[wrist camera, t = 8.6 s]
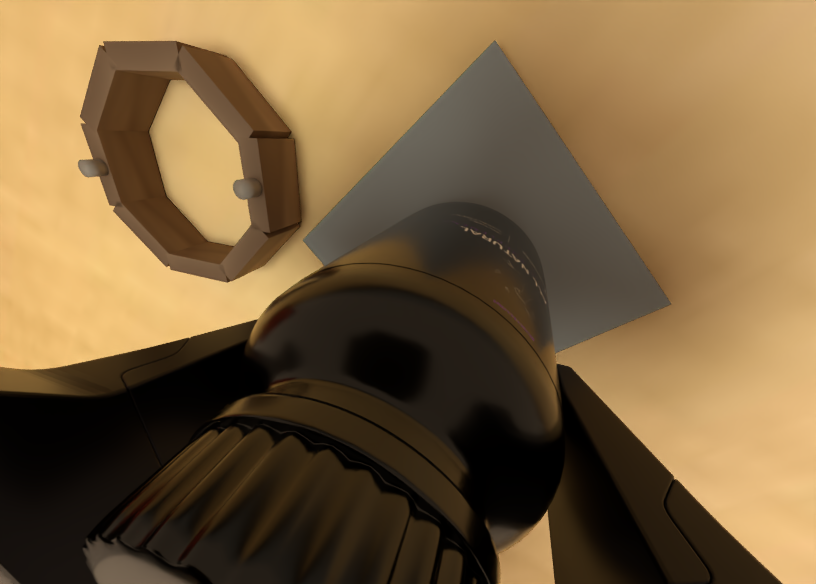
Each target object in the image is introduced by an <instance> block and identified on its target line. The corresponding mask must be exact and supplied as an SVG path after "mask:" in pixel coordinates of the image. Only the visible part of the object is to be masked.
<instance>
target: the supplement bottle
mask: <svg viewBox="0 0 816 584" xmlns="http://www.w3.org/2000/svg"><path fill="white" fill-rule="evenodd" d="M238 396H239V398H238V399H236V400H234V401H232V402H230V403H228V404H227V405H226V406H224V407H223V408H222V409H220V410H219V411H218V412H217V413H216V414H215V415H213V416H212V417H211V418H210V419H209V420H208V421H206V422H205V423H204V424H203V425H202V426H201V427H200V428H198V429H197V430H196V431H195V433H194V434H193V435H192V437H191V438H190V440H189V442H188V444H187V445H186V446H185V447H184V448H182V449H181V450H180V451H179V452H178V453H176V454H175V455H174V456H173V457H172V458H171V459H170V460H168V461H167V462H166V463H165V464H164V465H163V466H162V467H160V468H159V469H158V470H157V471H156V472H155V473H154V474H152V475H151V476H150V477H149V478H148V479H147V480H146V481H144V482H143V483H142V484H141V485H140V486H139V487H138V488H137V489H135V490H134V491H133V492H132V493H131V494H130V495H129V496H127V497H126V498H125V499H124V500H123V501H122V502H121V503H120V504H118V505H117V506H116V507H115V508H114V509H113V510H112V511H111V512H109V513H108V514H107V515H106V516H105V517H104V518H103V519H102V520H101V521H100V522H99V523H98V524H97V525H96V526H95V528H94V529H93V530H92V531H91V532H90V533H89V534H88V536H87V537H86V538H85V540H86V543H85V544H84V545H83V547H82V550H83V552H84V555H85V557H86V560H85V563H86V564H87V566H88V568H89V569H90V571H91V573H92V574H93V578H94V579H95V581H96V582H97V584H500V562H499V557H498V554H499V553H501V552H503V551H505V550H507V549H509V548H510V547H512V546H514V545H515V544H516V543H518V542H519V541H520V540H522V539H523V538H524V537H525V536H526V535H528V534H529V532H530V531H531V530H532V529H533V528H534V527H535V526H536V525H537V524H538V522H539V521H540V520H541V519H542V517H543V516H544V514H545V513H546V511H547V509H548V508H549V506H550V504H551V503H552V501H553V499H554V497H555V494H556V492H557V489H558V487H559V484H560V482H561V477H562V473H563V468H564V463H565V428H564V416H563V407H562V400H561V392H560V385H559V377H558V370H557V363H556V356H555V348H554V341H553V334H552V326H551V319H550V312H549V305H548V297H547V290H546V283H545V278H544V273H543V268H542V264H541V261H540V258H539V255H538V253H537V251H536V249H535V247H534V245H533V244H532V242H531V240H530V239H529V238H528V236H527V235H526V234H525V232H524V231H523V230H522V229H521V228H520V227H519V226H518V225H517V224H516V223H514V222H513V221H512V220H511V219H509V218H508V217H506V216H505V215H503V214H501V213H500V212H498V211H496V210H494V209H491V208H489V207H486V206H483V205H480V204H475V203H469V202H445V203H440V204H435V205H432V206H429V207H426V208H424V209H421V210H419V211H417V212H415V213H414V214H411V215H410V216H408V217H406V218H404V219H403V220H401V221H399V222H398V223H396V224H394V225H393V226H391V227H389V228H388V229H386V230H384V231H383V232H381V233H379V234H377V235H376V236H374V237H372V238H371V239H369V240H367V241H366V242H364V243H362V244H361V245H359V246H357V247H356V248H354V249H352V250H351V251H349V252H347V253H345V254H344V255H342V256H340V257H339V258H337V259H335V260H334V261H332V262H330V263H329V264H327V265H325V266H324V267H322V268H320V269H319V270H317V271H315V272H314V273H312V274H310V275H309V276H307V277H305V278H304V279H302V280H300V281H299V282H298V283H296V284H295V285H293V286H292V287H291V288H289V289H288V290H286V291H285V292H284V293H282V294H281V295H280V296H279V297H277V298H276V299H275V300H274V301H273V302H272V303H271V304H270V305H269V306H268V307H267V308H266V310H265V311H264V312H263V314H262V315H261V316H260V318H259V319H258V321H257V322H256V324H255V326H254V328H253V330H252V331H251V333H250V336H249V338H248V340H247V343H246V346H245V349H244V351H243V354H242V359H241V364H240V368H239V378H238Z"/></svg>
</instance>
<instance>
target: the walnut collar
mask: <svg viewBox="0 0 816 584" xmlns="http://www.w3.org/2000/svg"><path fill="white" fill-rule="evenodd" d="M103 43H104V46H101V45H99V48H98V52H97V55H96V59H95V63H94V67H93V70H92V74H91V78H90V81H89V85H88V89H87V92H86V96H85V100H84V103H83V107H82V111H81V115H80V117H81V118H82V120H83V121H84V122H85V123H86V124H82V123H81V126H82V129H83V132H84V134H85V137H86V140H87V143H88V146H89V149H90V151H91V154H92V157H93V159H91V160H79V161H78V167H79V169H80V171H81V173H82V174H83V175H84V176H86V177H96V176H99V177H100V180H101V182H102V185H103V188H104V191H105V194H106V196H107V199H108V202H109V205H111V206H115V208H114V210H113V211H114V212H115V213H116V215H117V216H118V217H119V218H120V219H121V220H122V221H123V222H124V223H125V224H126V225H127V226H128V227H129V228H130V229H131V230H132V231H133V232H134V233H135V235H136V236H137V237H138V238H139V239H140V240H141V241H142V242H143V243H144V244H145V245H146V246H147V247H148V248H149V249H150V250H151V251H152V252H153V253H154V255H155V256H156V257H157V258H158V259H159V260H160V261H161V262H162V263H163V264H164V265H165V266H166V267H167V266H170V269H171V270H174V271H178V272H183V273H187V274H192V275H196V276H201V277H205V278H209V279H214V280H218V281H223V282H229V281H233V280H235V279H237V278H240V277H242V276H244V275H246V274H248V273H250V272H252V271H254V270H256V269H258V268H260V267H262V266H264V265H265V264H266V263H267V262H268V260H269V259H270V258H271V257H272V256H273V255H274V254H275V253H276V252H277V251H278V250H279V249H280V247H281V246H282V245H283V244H284V243H285V242H286V241H287V240H288V239H289V238H290V237H291V235H292V234H293V233H294V232H295V231H296V230H297V229H298V228H299V227H300V226H299V225H298V222H301V211H300V200H299V189H298V177H297V166H296V155H295V144H294V139H289V138H287V137H288V136H289V134H290V133H291V131H290V130H289V128H288V127H287V126H286V125H285V124H284V122H283V121H282V120H281V119H280V117H279V116H278V115H277V114H276V112H275V111H274V110H273V109H272V108H271V106H270V105H269V104H268V103H267V101H266V100H265V99H264V98H263V96H262V95H261V94H260V93H259V92H258V90H257V89H256V88H255V87H254V85H253V84H252V83H251V82H250V80H249V79H248V78H247V77H246V76H245V74H244V73H243V72H242V71H241V69H240V68H239V67H238V66H237V64H236V63H235V62H234V61H233V60H232V59H230V58H227V56H225V55H222V54H218V53H215V52H212V51H208V50H205V49H201V48H198V47H194V46H191V45H187V44H184V43H180V42H177V41H103ZM170 80H185V81H186V82H187V83H188V84H189V85H190V87H191V88H192V89H193V90H194V91H195V93H196V94H197V95H198V96H199V97H200V98H201V100H202V101H203V102H204V103H205V104H206V106H207V107H208V108H209V109H210V110H211V111H212V113H213V114H214V115H215V116H216V117H217V119H218V120H219V121H220V122H221V123H222V124H223V126H224V127H225V128H226V129H227V130H228V132H229V133H230V134H231V135H232V136H233V137H234V139H235V140H236V141H237V142H238V144H239V150H240V157H241V163H242V169H243V175H244V179H241V180H236V181H235V182H234V184H233V190H234V193H235V194H236V196H237V197H238V198H240V199H242V200H244V199H247V200H248V206H249V213H250V219H251V226H250V227H249V229H248V230H247V231H246V232H245V234H244V235H243V236H242V237H241V239H240V240H239V241H238V243H237V244H236V245H235V246H234V247H233V246H227V245H222V244H217V243H212V242H207V241H206V240H205V239H204V238H203V236H202V235H201V234H200V233H199V232H198V231H197V230H196V229H195V228H194V227H193V225H192V224H191V223H190V222H189V221H188V220H187V219H186V218H185V217H184V216H183V214H182V213H181V212H180V211H179V210H178V209H177V208H176V207H175V206H174V205H173V204H172V202H171V201H170V200H169V199H168V198H167V197H166V195H165V192H164V188H163V184H162V181H161V177H160V173H159V170H158V166H157V162H156V159H155V155H154V151H153V148H152V144H151V140H150V137H149V133H148V131H149V128H150V126H151V123H152V121H153V119H154V116H155V114H156V112H157V109H158V107H159V104H160V102H161V100H162V97H163V95H164V93H165V90H166V88H167V85H168V83H169V81H170Z"/></svg>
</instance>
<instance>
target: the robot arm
mask: <svg viewBox="0 0 816 584" xmlns="http://www.w3.org/2000/svg"><path fill="white" fill-rule="evenodd" d="M257 321H258V319H257V320H254V321H250V322H246V323H242V324H238V325H235V326H231V327H227V328H223V329H219V330H216V331H212V332H208V333H204V334H200V335H197V336H193V337H191V338H185V339H181V340H177V341H174V342H170V343H166V344H162V345H158V346H154V347H150V348H145V349H141V350H136V351H132V352H128V353H123V354H119V355H114V356H109V357H105V358H100V359H96V360H91V361H86V362H82V363H77V364H73V365H68V366H63V367H57V368H50V369H37V370H24V369H12V368H4V367H0V584H97V582H96V581H95V579H94V578H93V574H92V573H91V571H90V569H89V568H88V566H87V564H86V563H85V560H86V557H85V555H84V552H83V550H82V547H83V545H84V544H85V543H86V540H85V538H86V537H87V536H88V534H89V533H90V532H91V531H92V530H93V529H94V528H95V526H96V525H97V524H98V523H99V522H100V521H101V520H102V519H103V518H104V517H105V516H106V515H107V514H108V513H109V512H111V511H112V510H113V509H114V508H115V507H116V506H117V505H118V504H120V503H121V502H122V501H123V500H124V499H125V498H126V497H127V496H129V495H130V494H131V493H132V492H133V491H134V490H135V489H137V488H138V487H139V486H140V485H141V484H142V483H143V482H144V481H146V480H147V479H148V478H149V477H150V476H151V475H152V474H154V473H155V472H156V471H157V470H158V469H159V468H160V467H162V466H163V465H164V464H165V463H166V462H167V461H168V460H170V459H171V458H172V457H173V456H174V455H175V454H176V453H178V452H179V451H180V450H181V449H182V448H184V447H185V446H186V445H187V444H188V442H189V440H190V438H191V437H192V435H193V434H194V433H195V431H196V430H197V429H198V428H200V427H201V426H202V425H203V424H204V423H205V422H206V421H208V420H209V419H210V418H211V417H212V416H213V415H215V414H216V413H217V412H218V411H219V410H220V409H222V408H223V407H224V406H226V405H227V404H228V403H230V402H232V401H234V400H236V399H238V398H239V396H238V378H239V368H240V364H241V359H242V354H243V351H244V349H245V346H246V343H247V340H248V338H249V336H250V333H251V331H252V330H253V328H254V326H255V324H256V322H257ZM557 370H558V377H559V385H560V392H561V400H562V407H563V416H564V428H565V463H564V468H563V473H562V477H561V482H560V484H559V487H558V489H557V492H556V494H555V497H554V499H553V501H552V503H551V504H550V506H549V508H548V519H549V529H550V539H551V549H552V559H553V569H554V579H555V584H782V583H781V582H780V581H779V580H778V579H777V578H776V577H775V576H774V575H773V574H772V573H771V572H770V571H769V570H768V569H766V568H765V567H764V566H763V565H762V564H761V563H760V562H759V561H758V560H757V559H756V558H755V557H754V556H753V555H752V554H751V553H750V552H749V551H748V550H747V549H746V548H744V547H743V546H742V545H741V544H740V543H739V542H738V541H737V540H736V539H735V538H734V537H733V536H732V535H731V534H730V533H729V532H728V531H727V530H726V529H725V528H724V527H723V526H722V525H721V524H720V523H719V522H718V521H717V520H716V519H715V518H714V517H713V516H712V515H711V514H710V513H709V512H708V511H707V510H706V509H705V508H704V507H703V506H702V505H701V504H700V503H699V502H698V501H697V500H696V499H695V498H694V497H693V496H692V495H691V494H690V493H689V491H688V490H687V489H686V488H685V487H684V486H683V485H682V484H681V483H680V482H679V481H678V480H676V479H674V476H673V475H672V474H671V473H670V472H669V471H668V470H667V468H666V467H665V466H664V465H663V464H662V463H661V462H660V461H659V460H658V459H657V458H656V457H655V456H654V455H653V454H652V453H651V452H650V451H649V449H648V448H647V447H646V446H645V445H644V444H643V443H642V442H641V441H640V440H639V439H638V438H637V437H636V436H635V435H634V434H633V433H632V432H631V430H630V429H629V428H628V427H627V426H626V425H625V424H624V423H623V422H622V421H621V420H620V419H619V418H618V417H617V416H616V415H615V414H614V413H613V412H612V410H611V409H610V408H609V407H608V406H607V405H606V404H605V403H604V402H603V401H602V400H601V399H600V398H599V397H598V396H597V395H596V394H595V393H594V391H593V390H592V389H591V388H590V387H589V386H588V385H587V384H586V383H585V382H584V381H583V380H582V379H581V378H580V377H579V376H578V375H577V374H576V372H575V371H574V370H573V369H572V368H571V367H569V366H564V365H560V364H557Z"/></svg>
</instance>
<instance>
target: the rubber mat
mask: <svg viewBox="0 0 816 584" xmlns="http://www.w3.org/2000/svg"><path fill="white" fill-rule="evenodd" d="M445 202H469V203H475V204H480V205H483V206H486V207H489V208H491V209H494V210H496V211H498V212H500V213H501V214H503V215H505V216H506V217H508V218H509V219H511V220H512V221H513V222H514V223H516V224H517V225H518V226H519V227H520V228H521V229H522V230H523V231H524V232H525V234H526V235H527V236H528V238H529V239H530V240H531V242H532V244H533V245H534V247H535V249H536V251H537V253H538V255H539V258H540V261H541V264H542V268H543V273H544V278H545V283H546V290H547V297H548V305H549V312H550V319H551V326H552V334H553V341H554V348H555V353H557V352H559V351H562V350H564V349H566V348H569V347H571V346H574V345H576V344H578V343H581V342H583V341H585V340H588V339H590V338H592V337H595V336H597V335H600V334H602V333H604V332H607V331H609V330H611V329H614V328H616V327H618V326H621V325H623V324H625V323H628V322H630V321H633V320H635V319H637V318H640V317H642V316H644V315H647V314H649V313H651V312H654V311H656V310H659V309H661V308H663V307H666V306H668V305H670V304H671V303H670V301H669V300H668V298H667V297H666V295H665V294H664V292H663V291H662V289H661V288H660V286H659V285H658V283H657V282H656V280H655V279H654V277H653V276H652V274H651V273H650V271H649V270H648V268H647V267H646V265H645V264H644V262H643V261H642V259H641V258H640V256H639V255H638V253H637V252H636V250H635V249H634V247H633V246H632V244H631V243H630V241H629V240H628V238H627V237H626V235H625V234H624V232H623V231H622V229H621V228H620V226H619V225H618V223H617V222H616V220H615V219H614V217H613V216H612V214H611V213H610V211H609V210H608V208H607V207H606V205H605V204H604V202H603V201H602V199H601V198H600V196H599V195H598V193H597V192H596V190H595V189H594V187H593V186H592V184H591V183H590V181H589V180H588V178H587V177H586V175H585V174H584V172H583V171H582V169H581V168H580V166H579V165H578V163H577V162H576V160H575V159H574V157H573V156H572V154H571V153H570V151H569V150H568V148H567V147H566V145H565V144H564V142H563V141H562V139H561V138H560V136H559V135H558V134H557V132H556V131H555V129H554V128H553V126H552V125H551V123H550V122H549V120H548V119H547V117H546V116H545V114H544V113H543V111H542V110H541V108H540V107H539V105H538V104H537V102H536V101H535V99H534V98H533V96H532V95H531V93H530V92H529V90H528V89H527V87H526V86H525V84H524V83H523V81H522V80H521V78H520V77H519V75H518V74H517V72H516V71H515V69H514V68H513V66H512V65H511V63H510V62H509V60H508V59H507V57H506V56H505V54H504V53H503V51H502V50H501V48H500V47H499V45H498V44H497V42H496V41H494V42H493V43H492V44H491V45H490V46H489V47H488V48H487V49H486V50H485V51H484V52H483V53H482V54H481V55H480V56H479V57H478V58H477V59H476V60H475V61H474V62H473V63H472V64H471V66H470V67H469V68H468V69H467V70H466V71H465V72H464V73H463V74H462V75H461V76H460V77H459V78H458V79H457V80H456V81H455V82H454V83H453V84H452V85H451V86H450V87H449V88H448V89H447V90H446V92H445V93H444V94H443V95H442V96H441V97H440V98H439V99H438V100H437V101H436V102H435V103H434V104H433V105H432V106H431V107H430V108H429V109H428V110H427V111H426V112H425V113H424V114H423V115H422V117H421V118H420V119H419V120H418V121H417V122H416V123H415V124H414V125H413V126H412V127H411V128H410V129H409V130H408V131H407V132H406V133H405V134H404V135H403V136H402V137H401V138H400V139H399V140H398V141H397V143H396V144H395V145H394V146H393V147H392V148H391V149H390V150H389V151H388V152H387V153H386V154H385V155H384V156H383V157H382V158H381V159H380V160H379V161H378V162H377V163H376V164H375V165H374V166H373V168H372V169H371V170H370V171H369V172H368V173H367V174H366V175H365V176H364V177H363V178H362V179H361V180H360V181H359V182H358V183H357V184H356V185H355V186H354V187H353V188H352V189H351V190H350V191H349V192H348V194H347V195H346V196H345V197H344V198H343V199H342V200H341V201H340V202H339V203H338V204H337V205H336V206H335V207H334V208H333V209H332V210H331V211H330V212H329V213H328V214H327V215H326V216H325V217H324V219H323V220H322V221H321V222H320V223H319V224H318V225H317V226H316V227H315V228H314V229H313V230H312V231H311V232H310V233H309V234H308V235H307V236H306V237H305V238H304V239H303V241H304V242H305V243H306V245H307V246H308V247H309V248H310V249H311V250H312V252H313V253H314V254H315V255H316V256H317V257H318V259H319V260H320V261H321V262H322V263H323V264H324V266H325V265H327V264H329V263H330V262H332V261H334V260H335V259H337V258H339V257H340V256H342V255H344V254H345V253H347V252H349V251H351V250H352V249H354V248H356V247H357V246H359V245H361V244H362V243H364V242H366V241H367V240H369V239H371V238H372V237H374V236H376V235H377V234H379V233H381V232H383V231H384V230H386V229H388V228H389V227H391V226H393V225H394V224H396V223H398V222H399V221H401V220H403V219H404V218H406V217H408V216H410V215H411V214H414V213H415V212H417V211H419V210H421V209H424V208H426V207H429V206H432V205H435V204H440V203H445Z"/></svg>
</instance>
